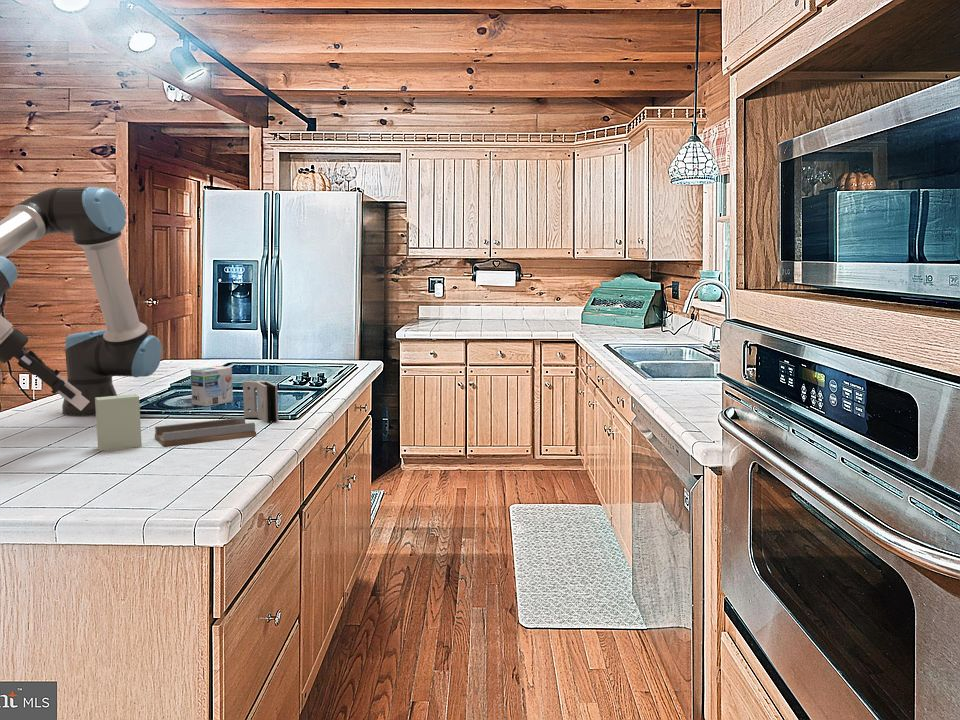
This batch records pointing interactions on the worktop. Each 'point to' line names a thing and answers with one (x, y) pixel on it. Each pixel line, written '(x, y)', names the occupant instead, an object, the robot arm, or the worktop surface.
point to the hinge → (261, 400)
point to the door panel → (118, 422)
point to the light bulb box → (211, 385)
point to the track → (204, 431)
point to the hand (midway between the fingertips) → (81, 401)
